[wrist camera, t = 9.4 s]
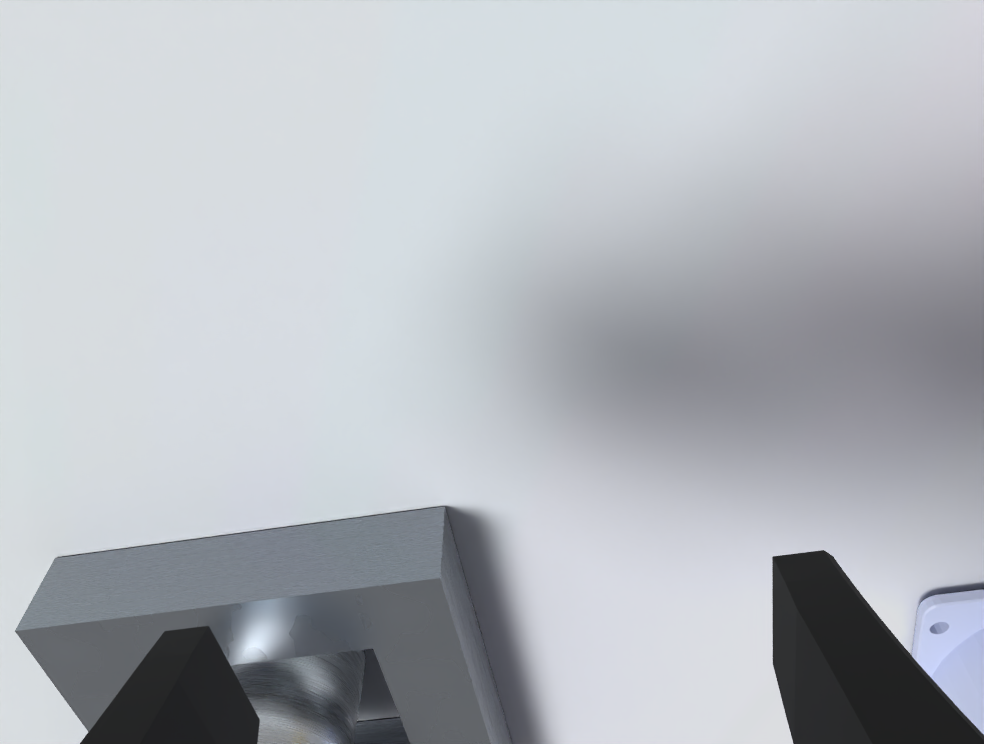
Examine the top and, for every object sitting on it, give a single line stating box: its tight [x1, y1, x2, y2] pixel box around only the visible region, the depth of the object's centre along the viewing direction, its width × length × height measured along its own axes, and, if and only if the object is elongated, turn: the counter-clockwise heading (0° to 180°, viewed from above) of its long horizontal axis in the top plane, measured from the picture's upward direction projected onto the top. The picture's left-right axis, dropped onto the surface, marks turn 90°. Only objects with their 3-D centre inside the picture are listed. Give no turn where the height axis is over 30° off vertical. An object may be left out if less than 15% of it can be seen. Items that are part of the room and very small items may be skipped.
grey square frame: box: [15, 506, 512, 744], centre depth 26 cm, size 11×11×2 cm
